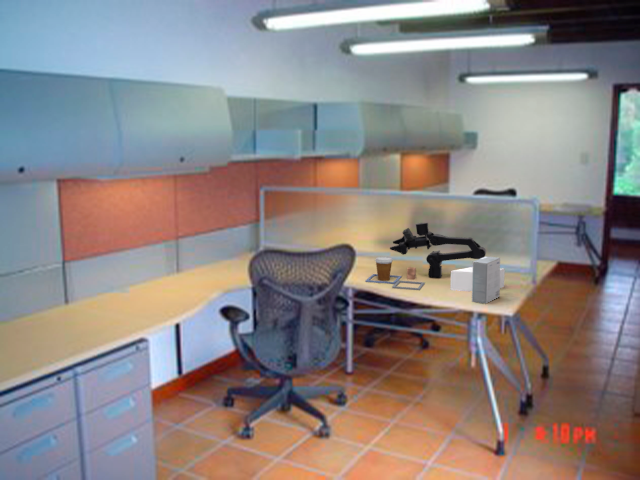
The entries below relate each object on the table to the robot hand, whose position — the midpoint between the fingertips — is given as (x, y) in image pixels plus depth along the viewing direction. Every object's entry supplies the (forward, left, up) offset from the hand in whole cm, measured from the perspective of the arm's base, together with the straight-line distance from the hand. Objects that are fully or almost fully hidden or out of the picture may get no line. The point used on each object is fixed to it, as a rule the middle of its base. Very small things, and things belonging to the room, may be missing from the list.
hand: (391, 245), depth 361 cm
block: (-13, +8, -17) cm, 23 cm away
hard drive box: (-56, +40, -17) cm, 71 cm away
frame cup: (+1, +15, -17) cm, 22 cm away
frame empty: (-15, +25, -17) cm, 34 cm away
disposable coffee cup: (+1, +15, -17) cm, 22 cm away
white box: (-50, +20, -17) cm, 57 cm away
